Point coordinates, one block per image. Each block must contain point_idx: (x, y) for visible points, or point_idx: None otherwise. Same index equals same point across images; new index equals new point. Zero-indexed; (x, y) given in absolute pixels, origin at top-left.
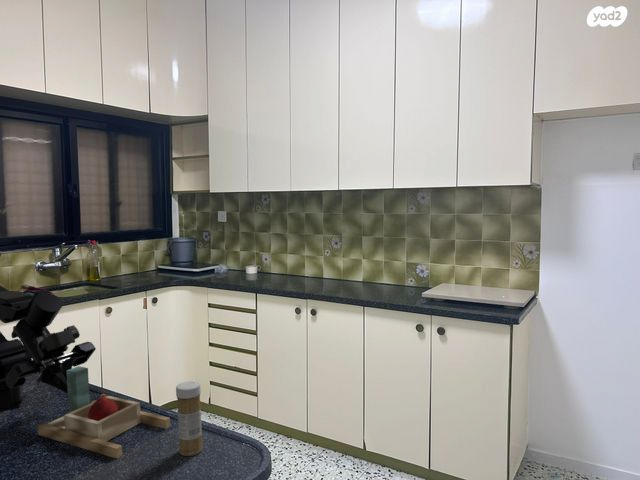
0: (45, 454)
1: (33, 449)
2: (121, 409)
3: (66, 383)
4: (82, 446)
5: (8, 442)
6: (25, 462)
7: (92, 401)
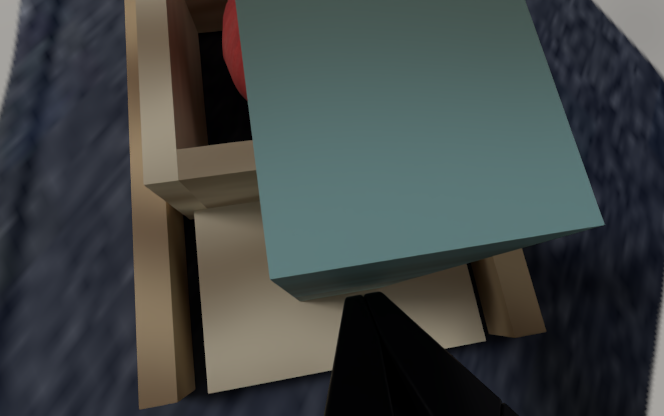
0: None
1: None
2: (187, 65)
3: (432, 358)
4: None
5: (639, 376)
6: (621, 124)
7: (163, 399)
